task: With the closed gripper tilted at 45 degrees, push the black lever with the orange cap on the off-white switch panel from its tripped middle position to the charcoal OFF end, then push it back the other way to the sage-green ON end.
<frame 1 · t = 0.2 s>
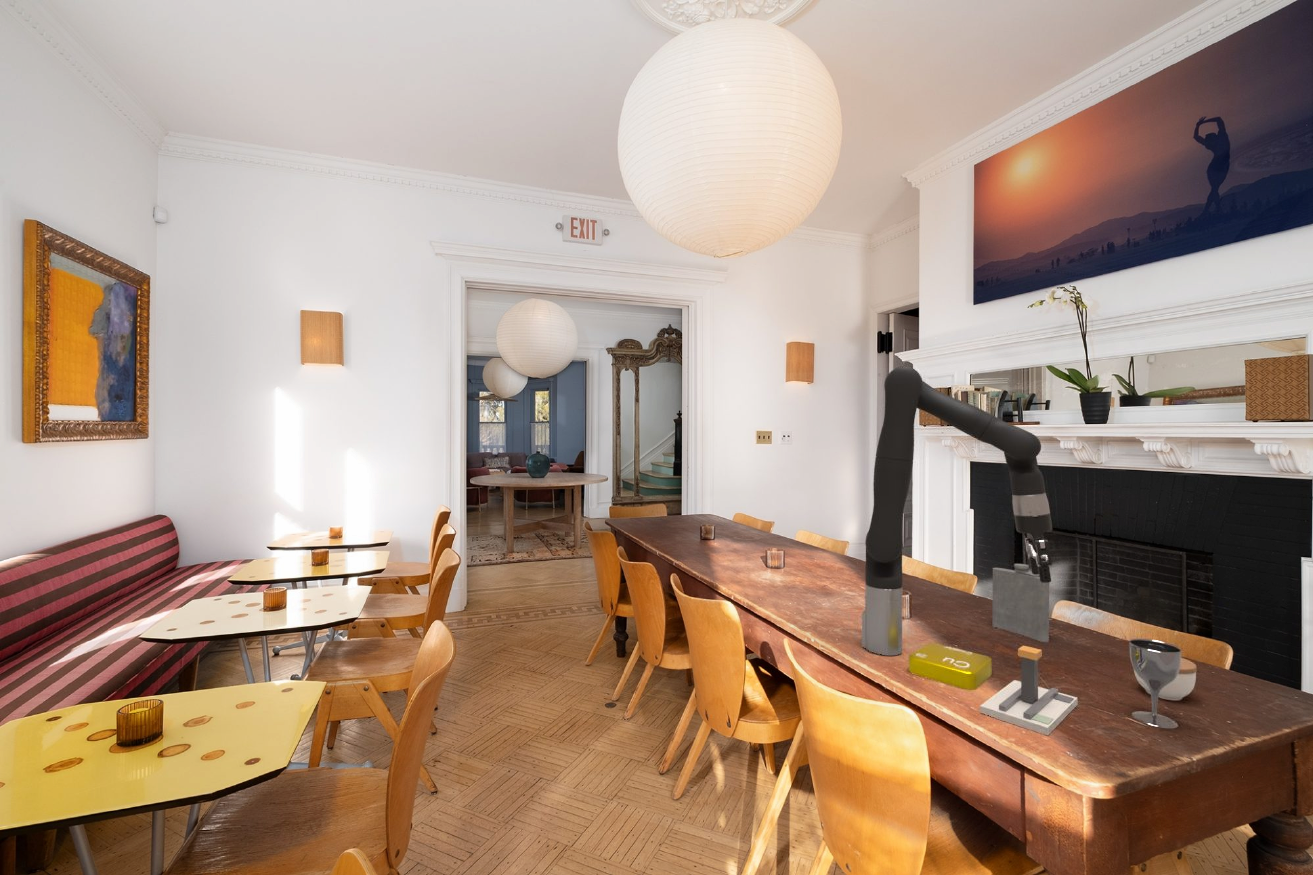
hand: (1041, 578, 143), 22 cm above the table, tool pointing down, fingers open, 8 cm apart
wine glass: (1154, 720, 118), on the table
lever: (1029, 674, 122), point 7 cm above the table, slide at 0.0 cm
switch panel: (1029, 708, 122), on the table
hip flask: (1020, 633, 171), on the table
element tile: (949, 675, 141), on the table
lidded jar: (1163, 695, 130), on the table
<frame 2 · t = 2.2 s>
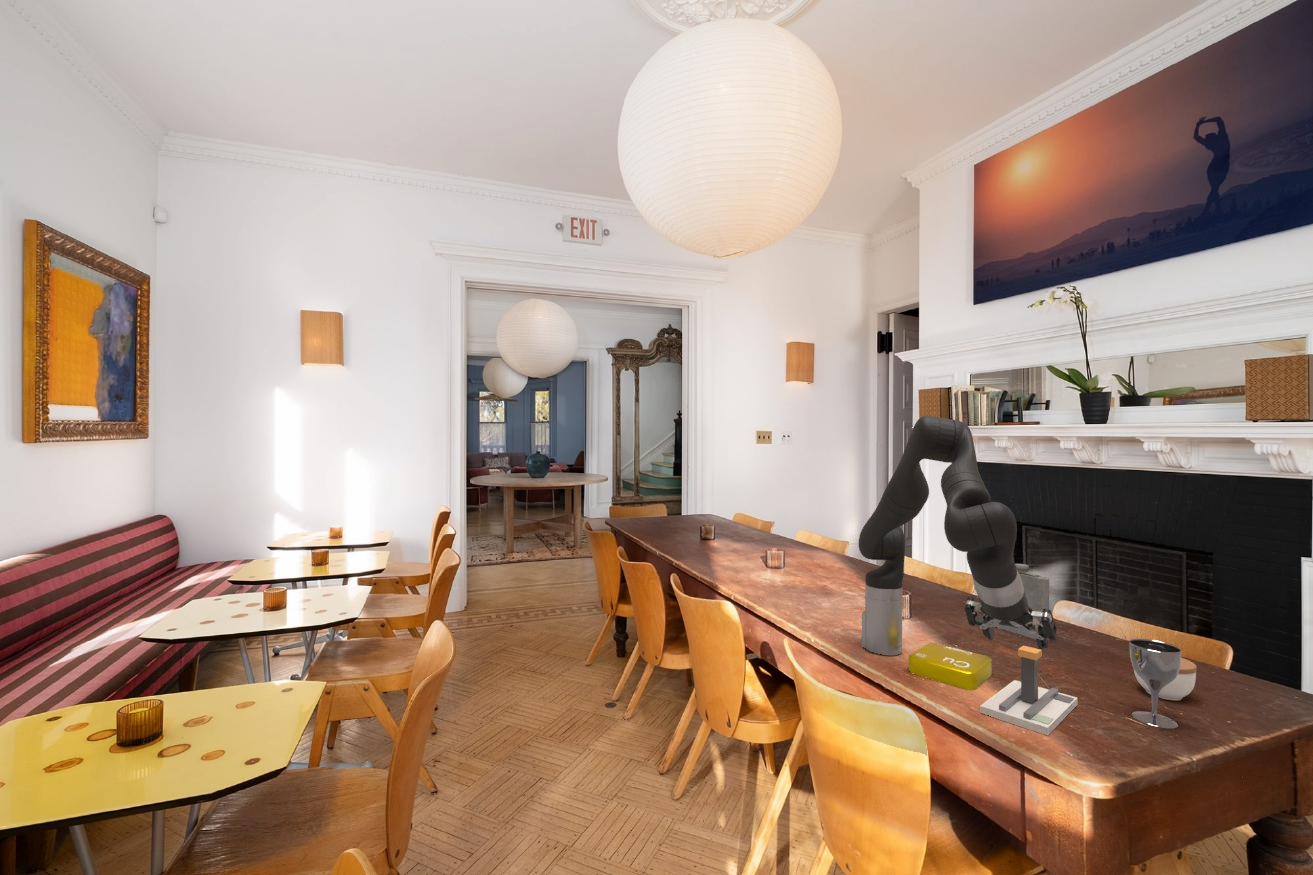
hand: (1016, 640, 113), 18 cm above the table, tool tilted 40°, fingers open, 8 cm apart
nothing on the table moved.
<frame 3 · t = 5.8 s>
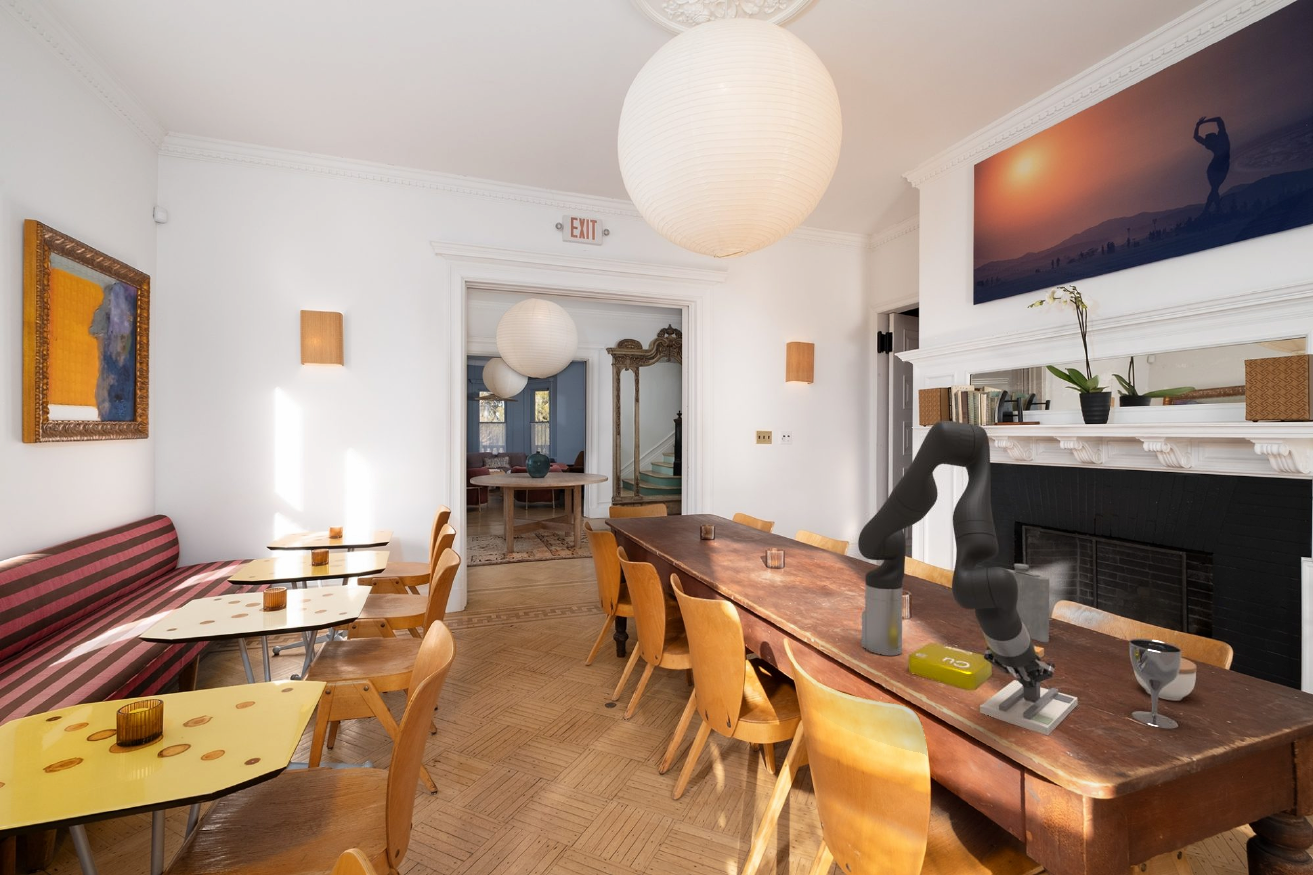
hand: (1028, 683, 122), 5 cm above the table, tool tilted 45°, fingers closed
lever: (1031, 673, 123), point 7 cm above the table, slide at 1.4 cm, touching gripper
everything else where it was.
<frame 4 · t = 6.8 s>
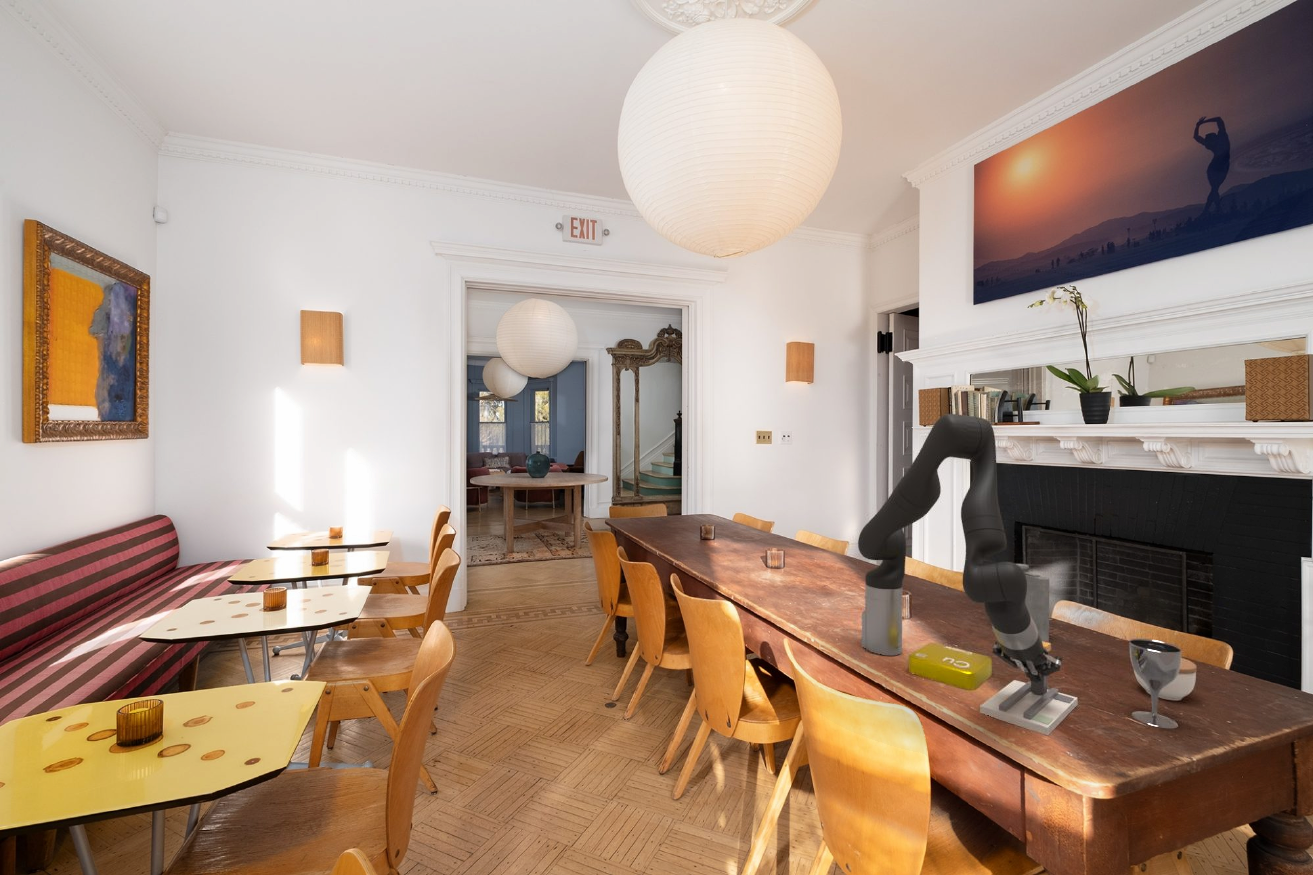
hand: (1035, 677, 125), 5 cm above the table, tool tilted 45°, fingers closed
lever: (1039, 667, 126), point 7 cm above the table, slide at 6.1 cm, touching gripper
everything else where it was.
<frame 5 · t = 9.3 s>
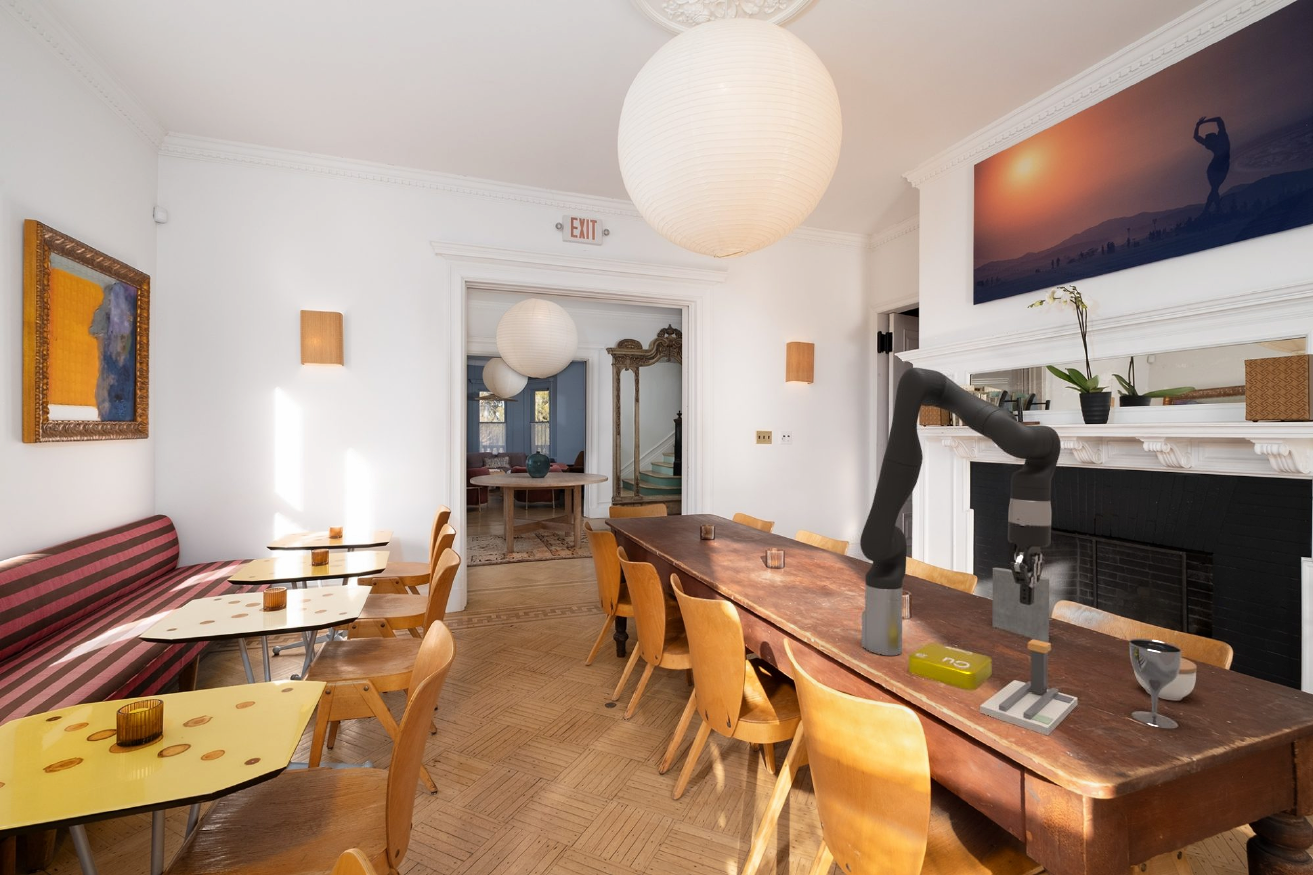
hand: (1026, 603, 122), 22 cm above the table, tool pointing down, fingers closed
lever: (1039, 667, 126), point 7 cm above the table, slide at 6.1 cm
everything else where it was.
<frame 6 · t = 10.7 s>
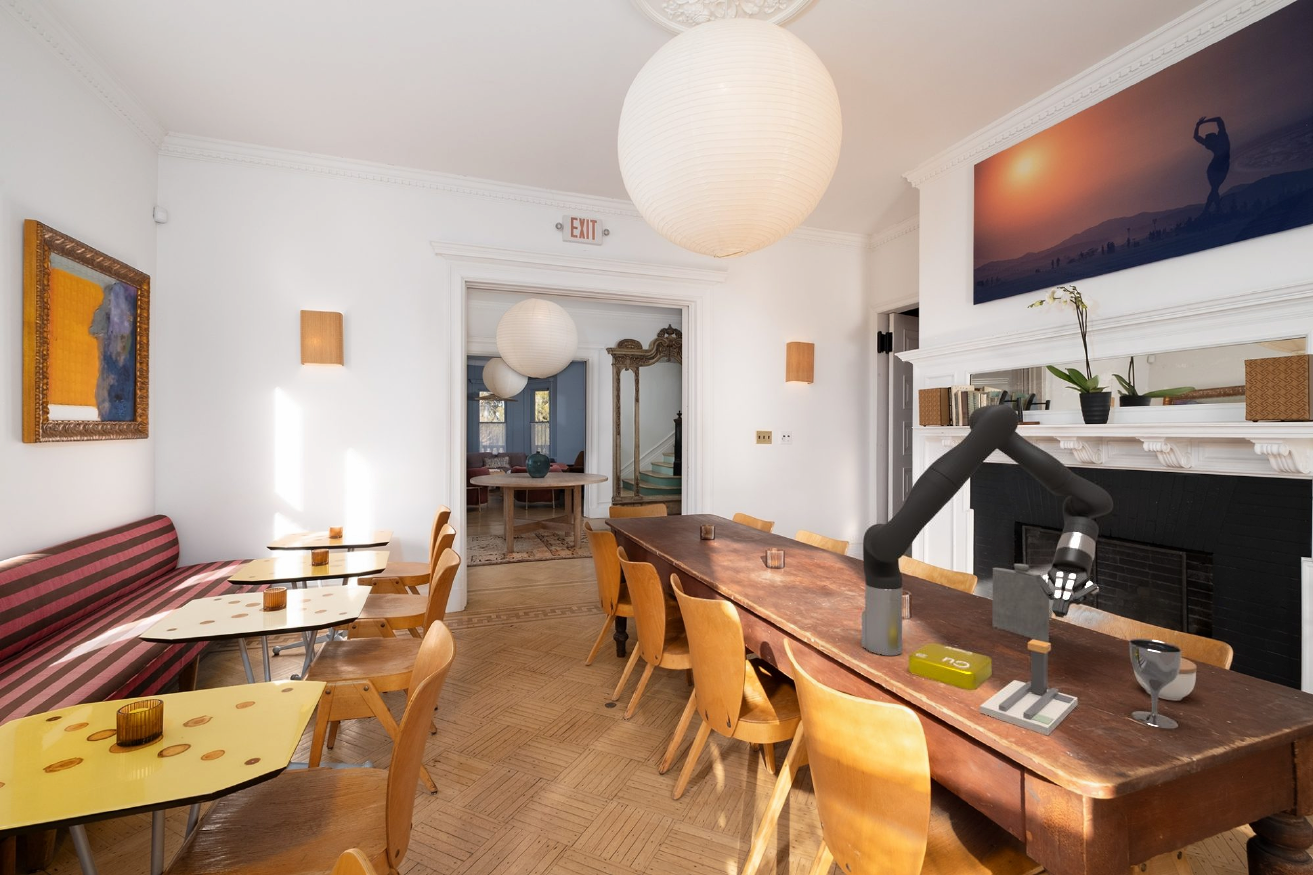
hand: (1058, 615, 135), 16 cm above the table, tool tilted 45°, fingers closed
nothing on the table moved.
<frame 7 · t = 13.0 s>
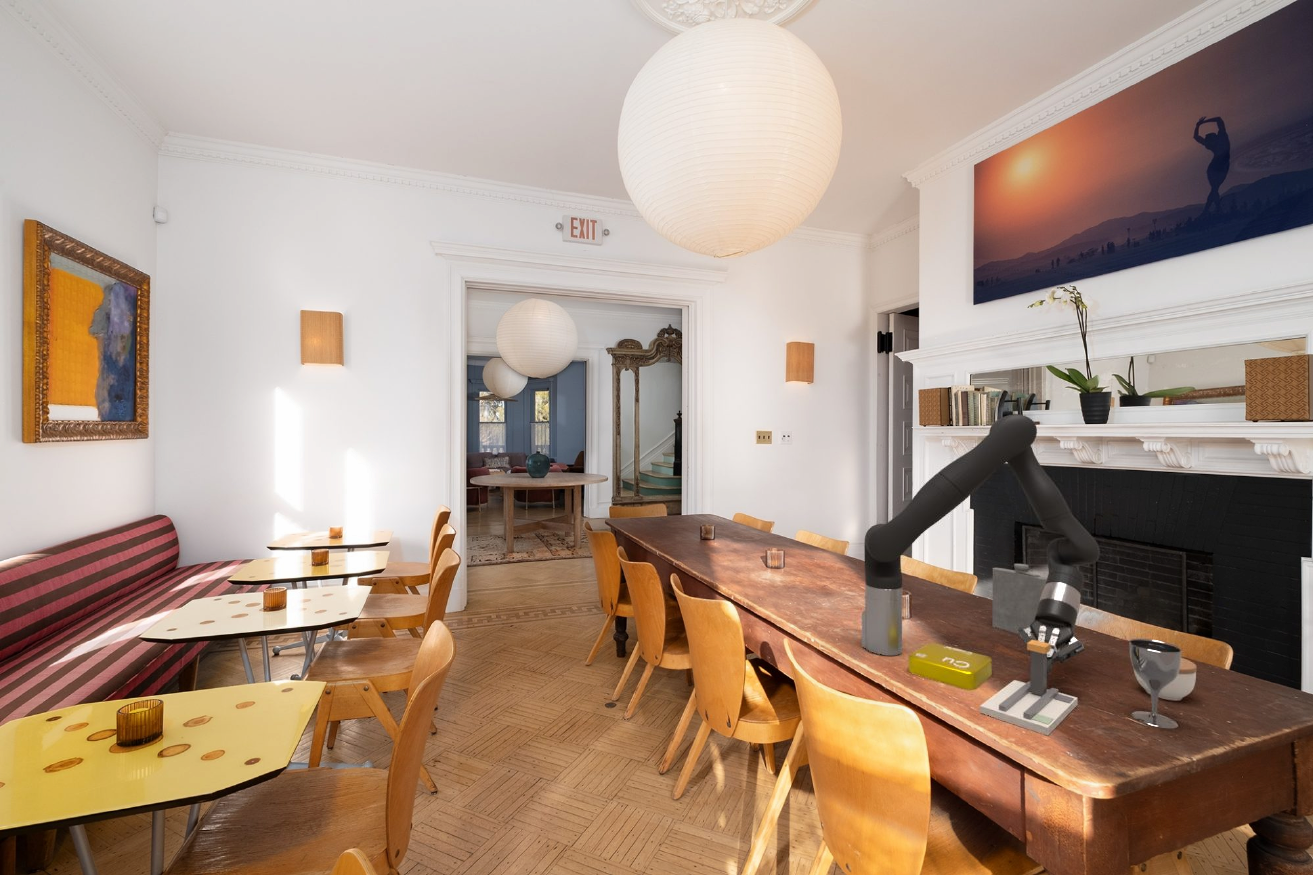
hand: (1041, 673, 127), 5 cm above the table, tool tilted 45°, fingers closed
lever: (1038, 667, 126), point 7 cm above the table, slide at 5.7 cm, touching gripper
everything else where it was.
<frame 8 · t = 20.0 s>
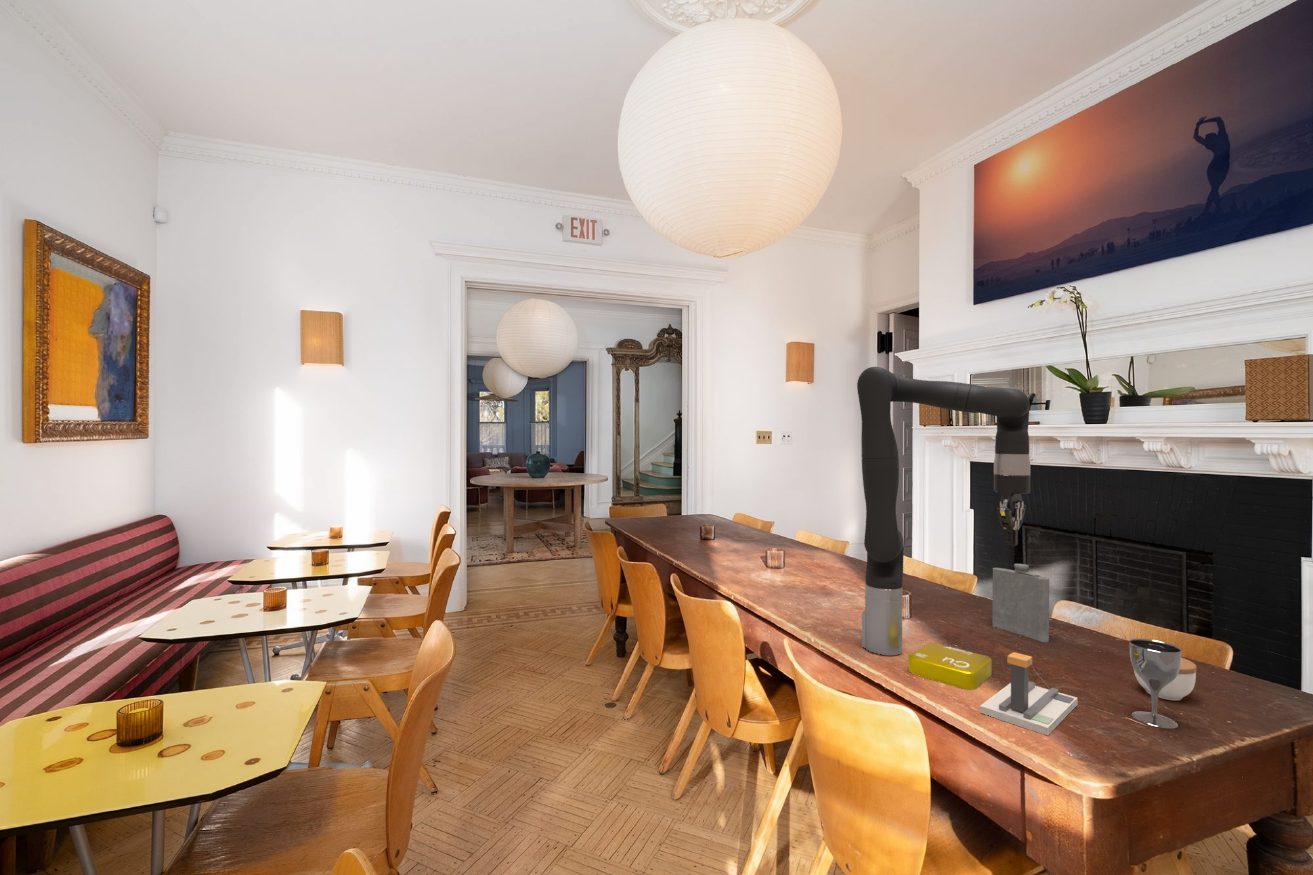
hand: (1011, 545, 140), 31 cm above the table, tool pointing down, fingers closed
lever: (1019, 682, 118), point 7 cm above the table, slide at -6.1 cm
everything else where it was.
at the end: lever slide at -6.1 cm; the gripper is holding nothing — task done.
